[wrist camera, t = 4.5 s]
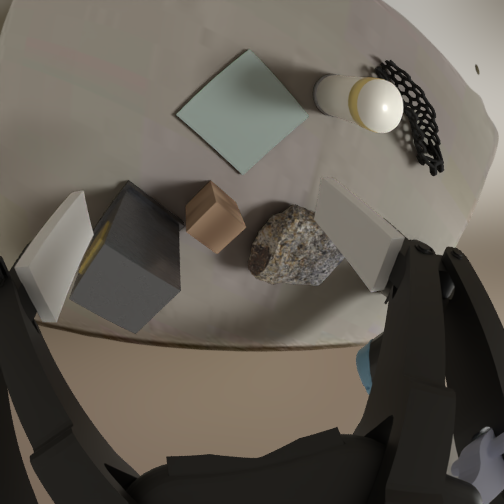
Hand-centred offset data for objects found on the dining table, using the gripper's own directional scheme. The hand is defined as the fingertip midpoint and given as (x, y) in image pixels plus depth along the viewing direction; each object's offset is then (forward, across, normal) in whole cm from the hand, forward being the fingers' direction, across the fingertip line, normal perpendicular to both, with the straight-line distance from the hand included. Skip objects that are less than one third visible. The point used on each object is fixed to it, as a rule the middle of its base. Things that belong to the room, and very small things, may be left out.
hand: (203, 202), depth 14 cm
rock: (+22, -15, +17) cm, 32 cm away
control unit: (+21, +9, +12) cm, 26 cm away
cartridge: (+21, -18, -6) cm, 29 cm away
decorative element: (+22, -33, -5) cm, 40 cm away
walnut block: (+21, -2, +10) cm, 24 cm away
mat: (+21, -6, -3) cm, 22 cm away
